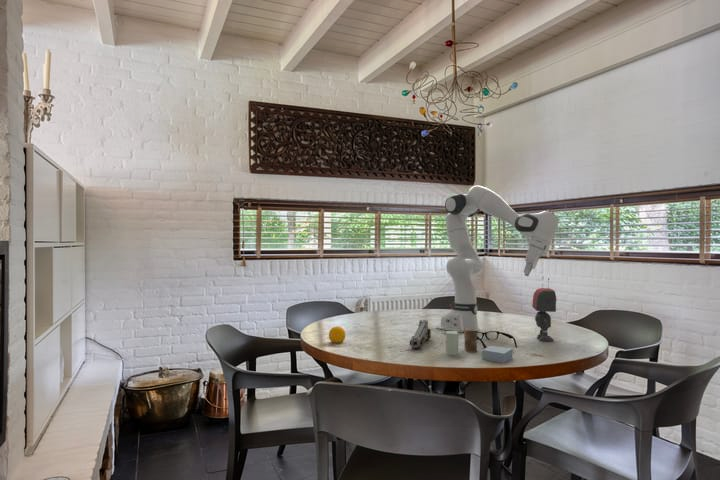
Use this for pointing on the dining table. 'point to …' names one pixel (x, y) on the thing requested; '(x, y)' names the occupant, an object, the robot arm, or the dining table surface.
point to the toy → (420, 335)
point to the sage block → (451, 342)
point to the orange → (337, 335)
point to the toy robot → (544, 311)
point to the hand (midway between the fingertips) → (525, 274)
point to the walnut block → (470, 340)
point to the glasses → (496, 338)
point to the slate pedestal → (497, 354)
